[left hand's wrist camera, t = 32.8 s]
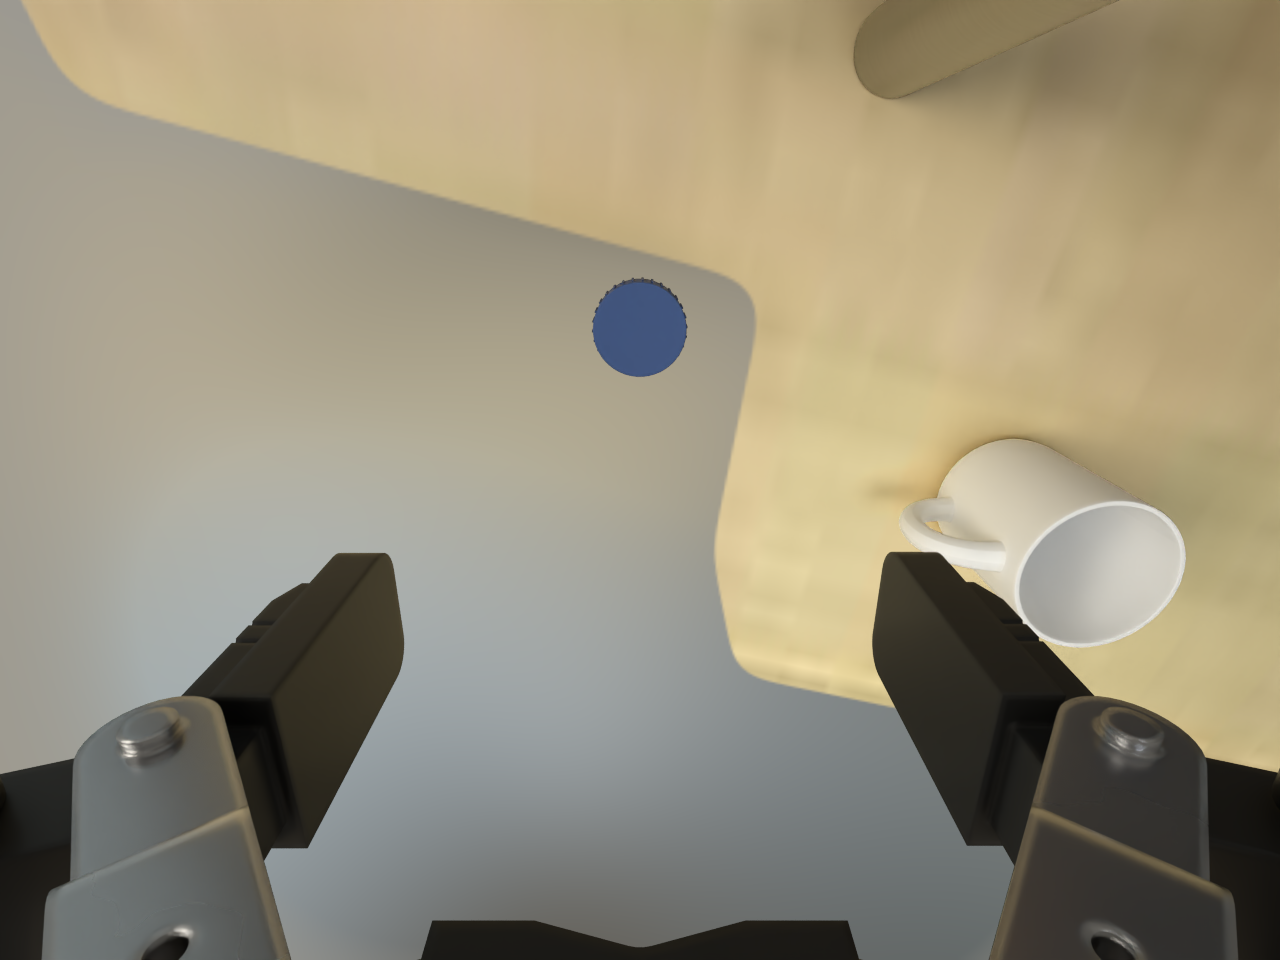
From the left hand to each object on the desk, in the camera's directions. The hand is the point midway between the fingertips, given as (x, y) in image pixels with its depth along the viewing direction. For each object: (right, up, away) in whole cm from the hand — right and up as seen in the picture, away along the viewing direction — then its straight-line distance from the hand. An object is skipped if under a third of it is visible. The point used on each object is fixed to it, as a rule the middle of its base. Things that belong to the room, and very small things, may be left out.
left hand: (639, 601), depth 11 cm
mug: (+21, +1, +32) cm, 38 cm away
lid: (0, +10, +27) cm, 28 cm away
